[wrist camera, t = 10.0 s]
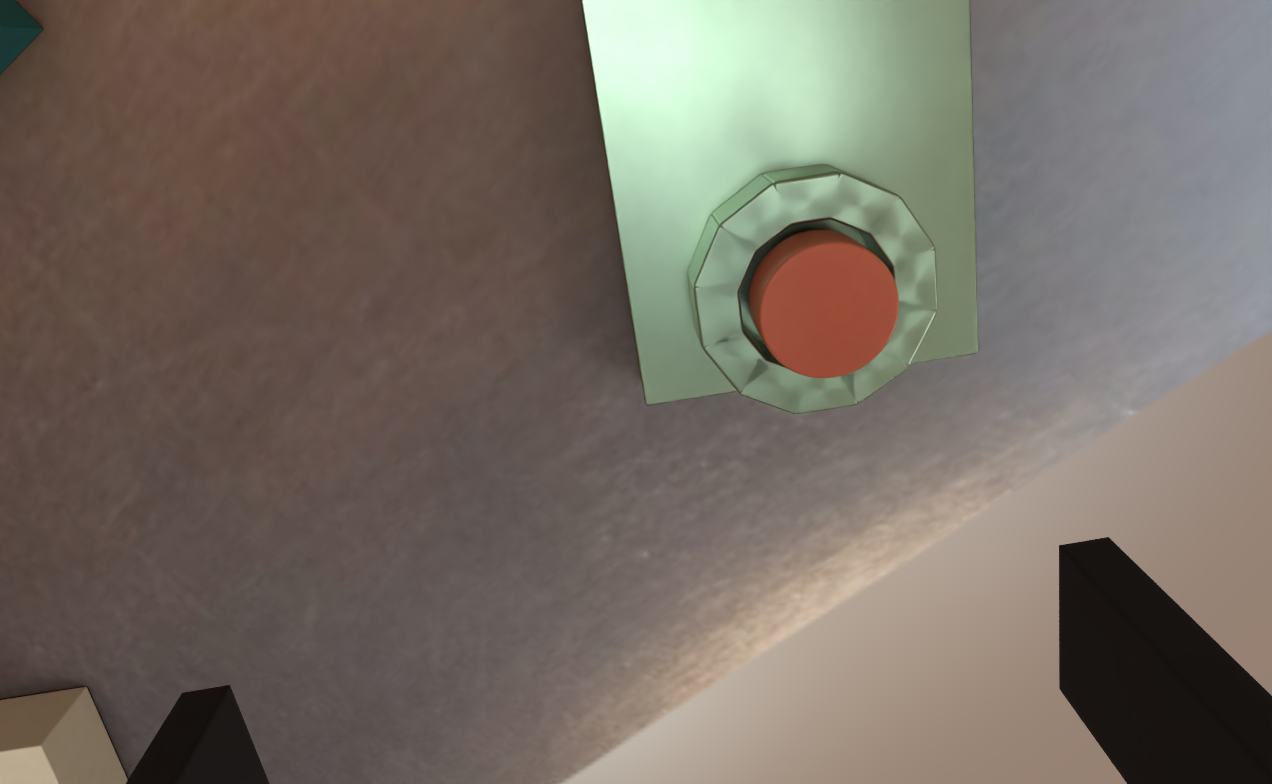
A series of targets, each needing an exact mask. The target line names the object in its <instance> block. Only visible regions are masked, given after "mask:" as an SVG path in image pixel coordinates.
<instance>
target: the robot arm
mask: <svg viewBox="0 0 1272 784" xmlns="http://www.w3.org/2000/svg"><path fill="white" fill-rule="evenodd" d="M1059 643H1060V644H1059V649H1060V650H1059V652H1060V655H1059V656H1060V657H1059V658H1060V659H1059V660H1060V661H1059V662H1060V664H1059V666H1060V667H1059V669H1060V670H1059V671H1060V673H1059V674H1060V690H1061V691H1062V693H1063V694H1064V696H1065V697H1066V699H1067V700H1068V701H1069V703H1070V704H1071V706H1072V707H1073V708H1074V710H1075V711H1076V712H1077V714H1078V715H1079V717H1080V718H1081V720H1082V721H1083V722H1084V723H1085V725H1086V726H1087V728H1088V729H1089V731H1090V732H1091V733H1092V735H1093V736H1094V737H1095V739H1096V741H1097V742H1098V743H1099V745H1100V746H1101V748H1102V749H1103V750H1104V752H1105V753H1106V755H1107V756H1108V757H1109V759H1110V760H1111V762H1112V763H1113V764H1114V766H1115V767H1116V769H1117V770H1118V771H1119V773H1120V774H1121V775H1122V777H1123V778H1124V780H1125V781H1126V782H1127V784H1272V696H1271V695H1270V694H1269V693H1268V692H1267V691H1266V690H1265V689H1264V688H1263V687H1262V686H1261V685H1260V684H1259V683H1258V682H1257V681H1256V680H1255V679H1254V678H1253V677H1252V676H1250V674H1249V673H1248V672H1247V671H1245V670H1244V669H1243V668H1242V667H1241V666H1240V665H1239V664H1238V663H1237V662H1236V661H1235V660H1234V659H1233V658H1232V657H1231V656H1230V655H1229V654H1228V653H1227V652H1226V651H1225V650H1224V649H1223V648H1222V647H1221V646H1220V645H1219V644H1218V643H1217V642H1216V641H1215V640H1213V638H1211V636H1209V634H1207V633H1206V632H1205V631H1204V630H1203V629H1202V628H1201V627H1200V626H1199V625H1198V624H1197V623H1196V622H1195V621H1194V620H1193V619H1192V618H1191V617H1190V616H1189V615H1188V614H1187V613H1186V612H1185V611H1184V610H1183V609H1182V608H1181V607H1180V606H1179V605H1178V604H1177V603H1175V601H1173V599H1171V598H1170V597H1169V596H1168V595H1167V594H1166V593H1165V592H1164V591H1163V590H1162V589H1161V588H1160V587H1159V586H1158V585H1157V584H1156V583H1155V582H1154V581H1153V580H1152V579H1151V578H1150V577H1149V576H1148V575H1147V574H1146V573H1145V572H1144V571H1143V570H1141V568H1140V567H1139V566H1137V564H1135V563H1134V562H1133V561H1132V560H1131V559H1130V558H1129V557H1128V556H1127V555H1126V554H1125V553H1124V552H1123V551H1122V550H1121V549H1120V548H1119V547H1118V546H1117V545H1116V544H1115V543H1114V542H1113V541H1112V540H1111V539H1110V538H1109V537H1107V538H1101V539H1095V540H1089V541H1084V542H1077V543H1071V544H1066V545H1059ZM126 784H269V782H268V779H267V777H266V774H265V772H264V769H263V767H262V764H261V762H260V759H259V757H258V754H257V752H256V749H255V747H254V744H253V742H252V739H251V737H250V734H249V732H248V729H247V727H246V724H245V722H244V719H243V717H242V714H241V712H240V709H239V707H238V704H237V702H236V699H235V697H234V694H233V692H232V689H231V687H230V685H227V686H221V687H215V688H209V689H203V690H197V691H191V692H185V693H182V694H181V696H180V697H179V699H178V701H177V702H176V704H175V705H174V707H173V709H172V710H171V712H170V713H169V715H168V717H167V718H166V720H165V721H164V723H163V725H162V726H161V728H160V729H159V731H158V733H157V734H156V736H155V737H154V739H153V741H152V742H151V744H150V745H149V747H148V749H147V750H146V752H145V753H144V755H143V757H142V758H141V760H140V762H139V763H138V765H137V766H136V768H135V770H134V771H133V773H132V774H131V776H130V778H129V779H128V781H127V782H126Z"/></svg>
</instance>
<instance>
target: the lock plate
mask: <svg viewBox="0 0 1272 784" xmlns="http://www.w3.org/2000/svg"><path fill="white" fill-rule="evenodd" d="M127 781H128V779H127V777H126V775H125V772H124V770H123V768H122V766H121V763H120V761H119V759H118V757H117V754H116V752H115V750H114V748H113V745H112V743H111V741H110V738H109V736H108V734H107V732H106V729H105V727H104V725H103V723H102V720H101V718H100V716H99V714H98V711H97V709H96V707H95V705H94V702H93V700H92V698H91V695H90V693H89V691H88V689H87V687H81V688H75V689H68V690H62V691H55V692H49V693H43V694H36V695H30V696H24V697H17V698H11V699H4V700H0V784H126V782H127Z"/></svg>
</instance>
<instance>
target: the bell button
mask: <svg viewBox="0 0 1272 784" xmlns="http://www.w3.org/2000/svg"><path fill="white" fill-rule="evenodd" d="M749 308H750V314H751V317H752V320H753V323H754V325H755V327H756V329H757V331H758V333H759V334H760V336H761V338H762V339H763V341H764V343H765V345H766V346H767V348H768V349H769V351H770V352H771V354H772V355H773V356H774V357H775V358H776V359H777V361H779V362H780V363H781V364H782V365H783V366H785V367H786V368H788V369H790V370H791V371H793V372H796V373H798V374H800V375H804V376H807V377H813V378H834V377H839V376H843V375H846V374H849V373H852V372H854V371H856V370H858V369H860V368H862V367H863V366H865V365H866V364H868V363H869V362H870V361H872V360H873V359H874V358H875V357H876V356H877V355H878V354H879V353H880V352H881V351H882V350H883V348H884V347H885V346H886V344H887V343H888V341H889V339H890V337H891V336H892V333H893V331H894V329H895V326H896V322H897V319H898V313H899V296H898V290H897V286H896V283H895V280H894V278H893V276H892V274H891V272H890V271H889V269H888V267H887V266H886V265H885V264H884V263H883V261H882V260H881V259H879V258H878V257H877V256H876V255H875V254H873V253H872V252H871V251H869V250H868V249H867V248H865V247H864V246H863V245H861V244H860V243H859V242H857V241H856V240H854V239H853V238H851V237H849V236H847V235H845V234H842V233H839V232H836V231H831V230H809V231H804V232H800V233H797V234H795V235H792V236H790V237H788V238H786V239H784V240H783V241H781V242H780V243H778V244H777V245H776V246H774V247H773V248H772V249H771V250H770V251H769V252H768V253H767V254H766V255H765V256H764V258H763V259H762V261H761V262H760V263H759V265H758V267H757V269H756V271H755V273H754V275H753V278H752V281H751V285H750V290H749Z"/></svg>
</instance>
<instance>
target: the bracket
mask: <svg viewBox="0 0 1272 784" xmlns="http://www.w3.org/2000/svg"><path fill="white" fill-rule="evenodd" d="M42 30H43V28H42V27H41V26H40V25H39V24H38V23H37V22H36V21H35V20H34V19H33V18H32V17H31V16H30V15H29V14H28V13H27V12H26V11H25V10H24V9H23V8H22V7H21V6H20V5H19V4H18V3H17V2H16V1H15V0H0V74H1V73H2V72H3V71H4V70H5V69H6V68H7V67H8V66H9V65H10V64H11V63H12V62H13V61H14V59H15V58H16V57H17V56H18V55H19V54H20V53H21V52H22V51H23V50H24V49H25V48H26V47H27V46H28V45H29V44H30V42H31V41H32V40H33V39H34V38H35V37H36V36H37V35H38V34H39V33H40V32H41V31H42Z"/></svg>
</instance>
